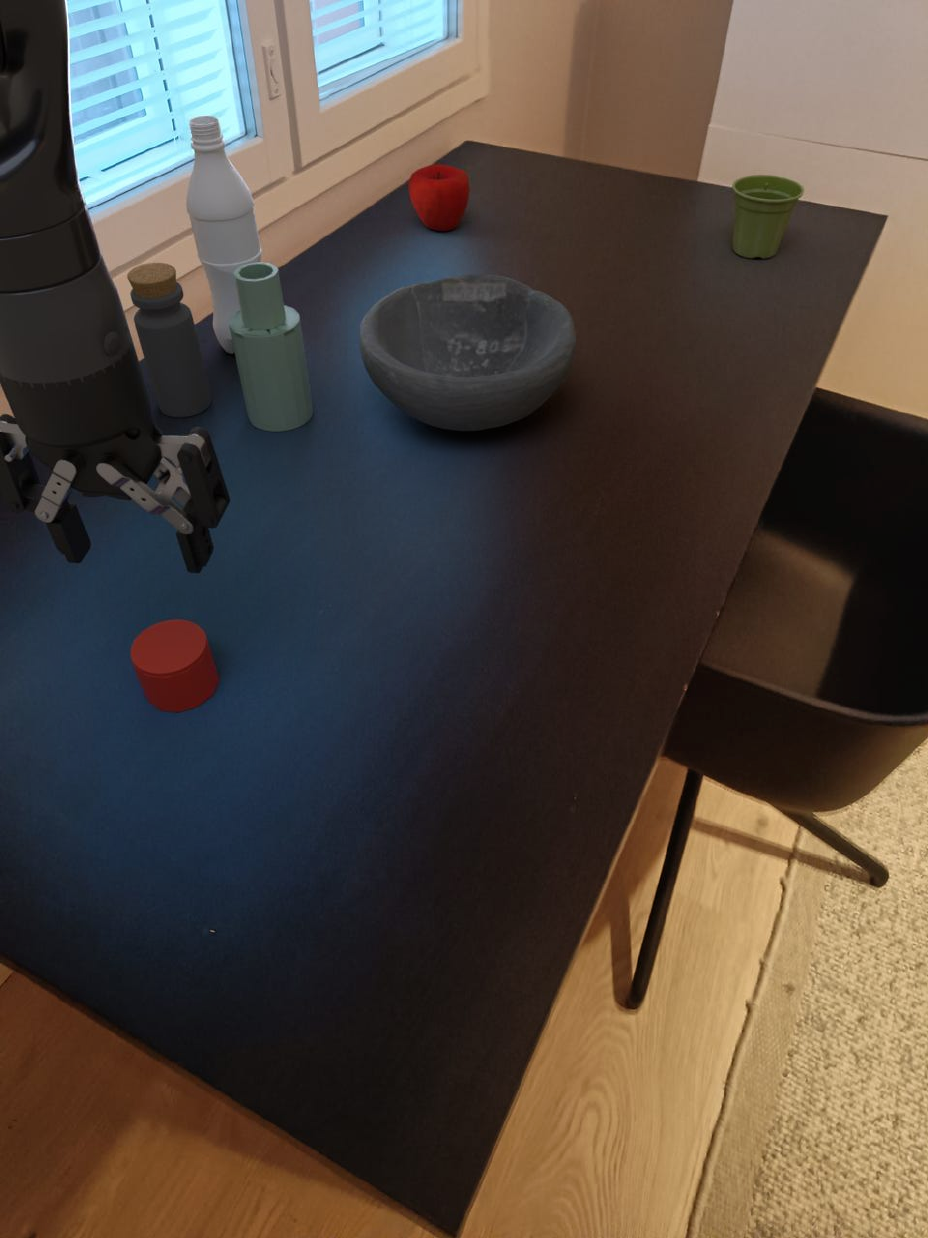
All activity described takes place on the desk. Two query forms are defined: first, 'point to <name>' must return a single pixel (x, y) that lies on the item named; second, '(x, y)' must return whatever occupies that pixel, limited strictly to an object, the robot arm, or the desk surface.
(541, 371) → the bowl
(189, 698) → the cap
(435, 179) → the apple
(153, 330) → the bottle
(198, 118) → the water bottle
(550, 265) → the desk surface
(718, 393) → the desk surface
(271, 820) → the desk surface
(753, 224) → the plant pot
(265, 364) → the ceramic bottle
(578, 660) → the desk surface
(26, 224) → the robot arm
